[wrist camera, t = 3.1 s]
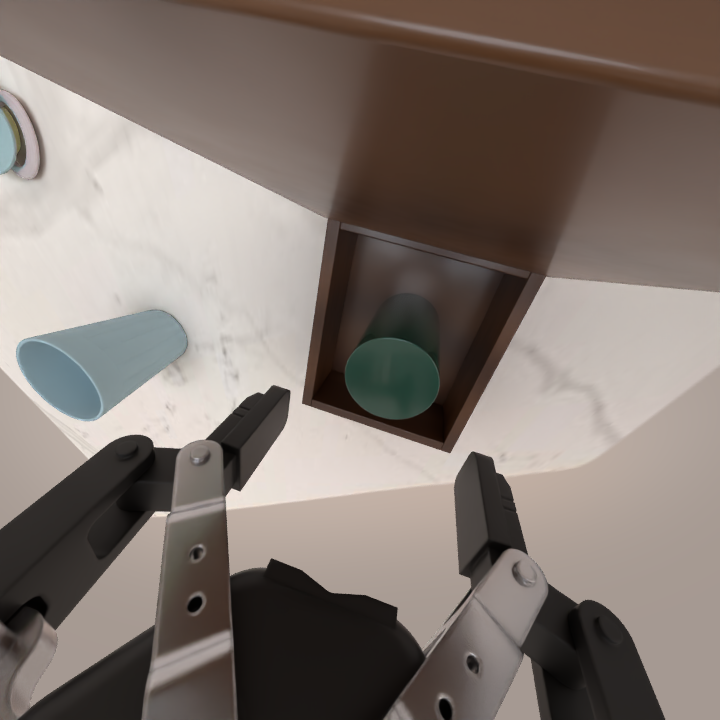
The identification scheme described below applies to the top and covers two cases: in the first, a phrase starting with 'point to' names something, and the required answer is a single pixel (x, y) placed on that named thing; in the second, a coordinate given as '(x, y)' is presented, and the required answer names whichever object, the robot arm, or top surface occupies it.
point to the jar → (397, 359)
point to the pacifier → (17, 139)
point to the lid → (431, 115)
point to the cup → (100, 361)
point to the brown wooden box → (456, 315)
